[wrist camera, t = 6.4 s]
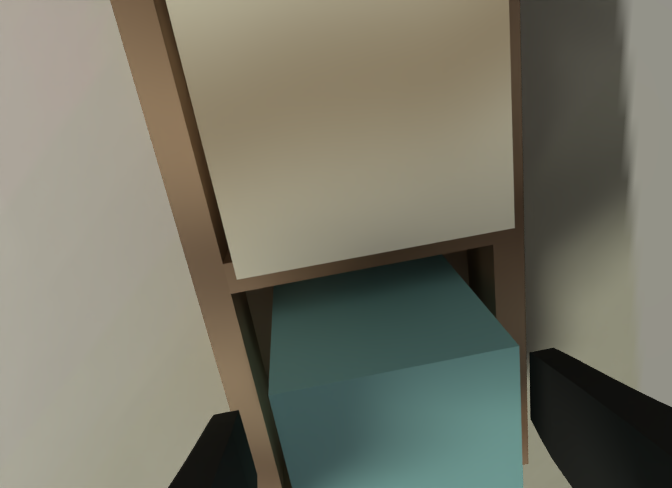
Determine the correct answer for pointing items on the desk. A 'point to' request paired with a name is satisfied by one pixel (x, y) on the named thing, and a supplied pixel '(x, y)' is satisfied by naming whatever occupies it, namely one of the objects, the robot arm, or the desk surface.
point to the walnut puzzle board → (256, 293)
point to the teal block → (394, 381)
